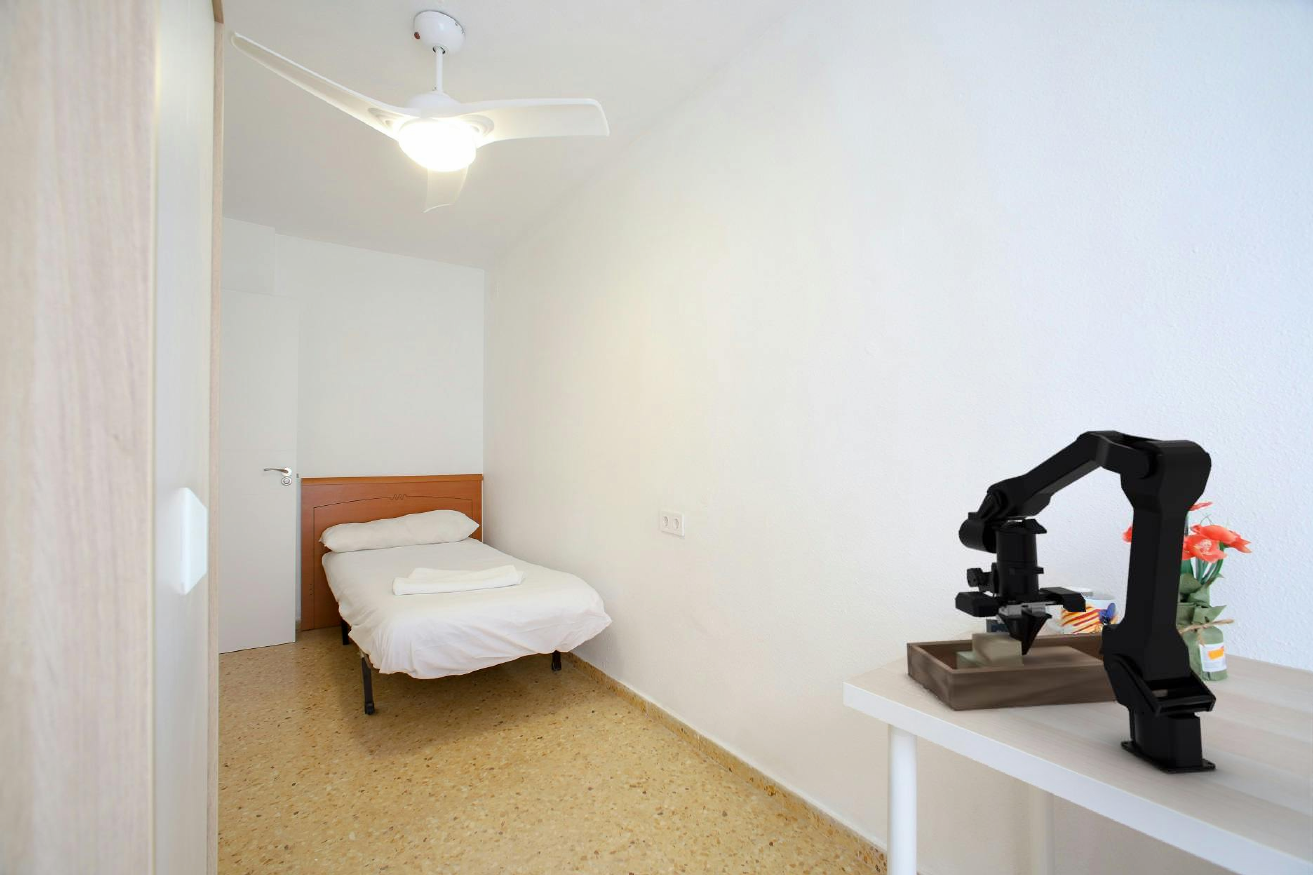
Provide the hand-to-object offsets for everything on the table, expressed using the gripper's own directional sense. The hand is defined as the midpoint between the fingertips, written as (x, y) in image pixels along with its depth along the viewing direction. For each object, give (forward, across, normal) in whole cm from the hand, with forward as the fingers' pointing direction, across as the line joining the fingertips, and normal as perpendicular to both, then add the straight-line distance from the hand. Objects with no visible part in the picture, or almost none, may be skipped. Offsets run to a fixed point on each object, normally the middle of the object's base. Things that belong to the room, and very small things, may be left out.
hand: (1021, 654), depth 93 cm
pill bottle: (+6, -26, -20) cm, 33 cm away
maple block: (+1, +4, 0) cm, 4 cm away
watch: (+5, -12, -22) cm, 26 cm away
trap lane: (+5, -2, 0) cm, 6 cm away
